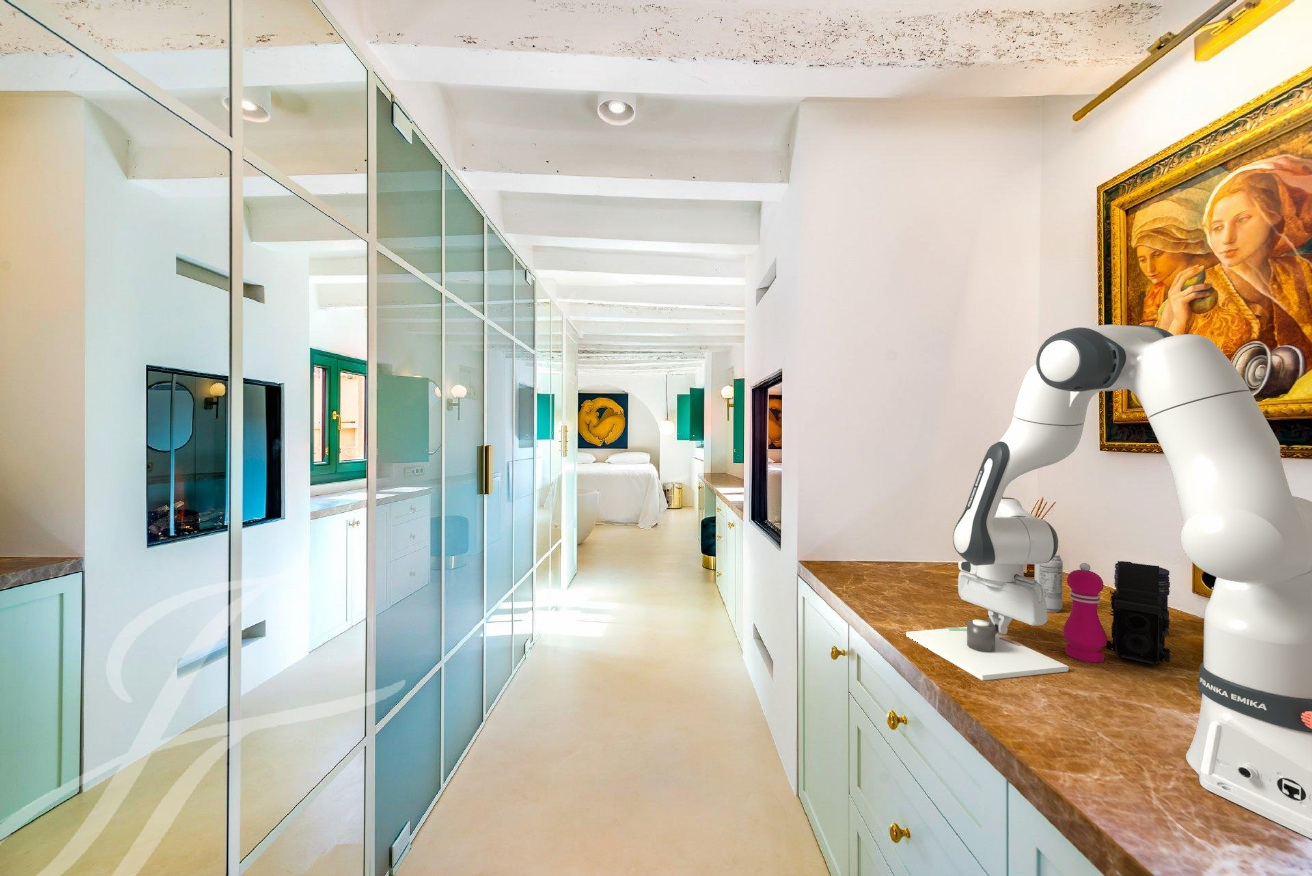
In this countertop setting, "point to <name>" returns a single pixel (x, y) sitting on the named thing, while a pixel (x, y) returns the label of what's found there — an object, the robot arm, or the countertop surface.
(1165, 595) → the storage jar
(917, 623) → the countertop surface
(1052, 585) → the energy drink can
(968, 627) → the dial
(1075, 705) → the countertop surface
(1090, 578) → the pepper mill
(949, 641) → the tuner board
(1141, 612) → the camera
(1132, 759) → the countertop surface
